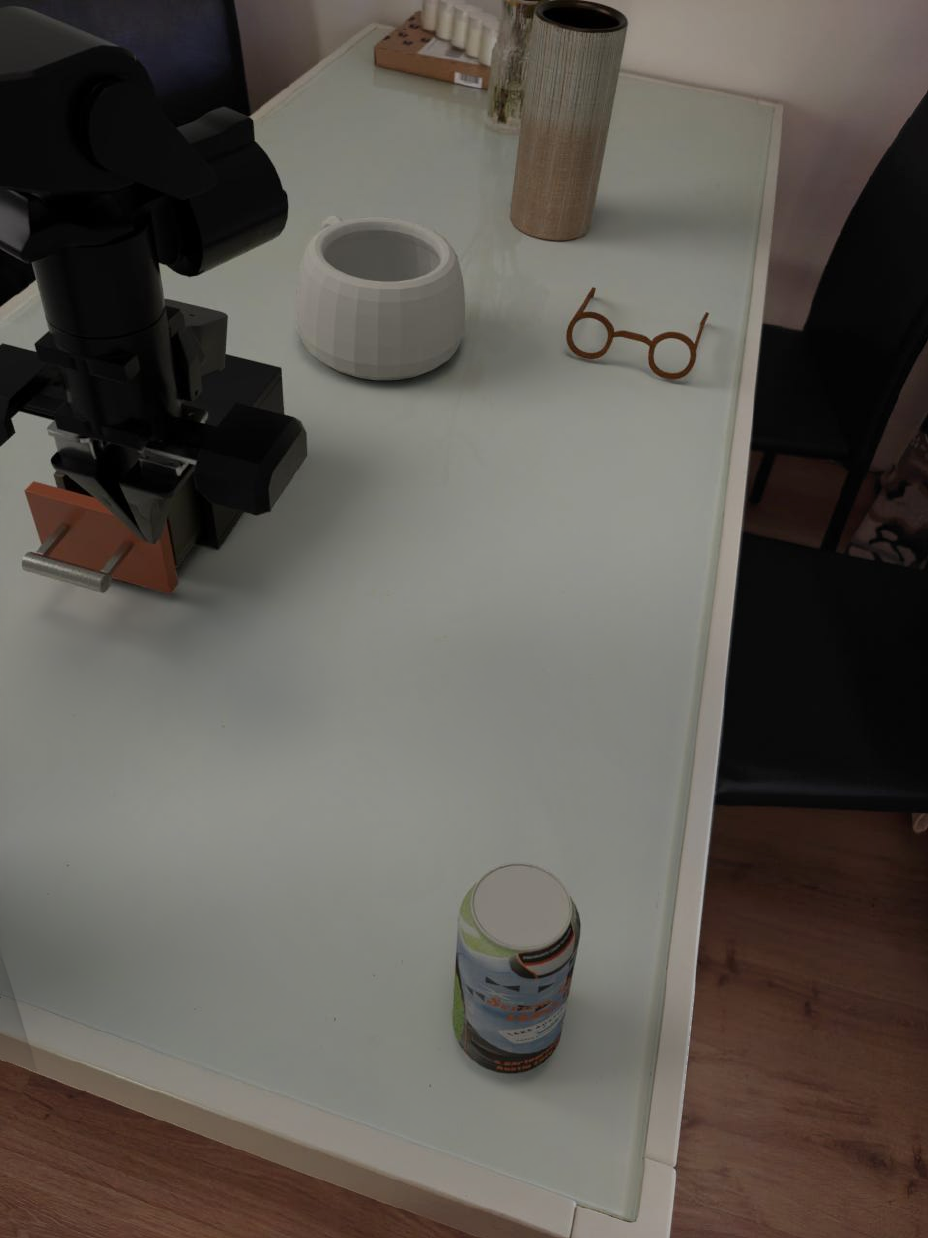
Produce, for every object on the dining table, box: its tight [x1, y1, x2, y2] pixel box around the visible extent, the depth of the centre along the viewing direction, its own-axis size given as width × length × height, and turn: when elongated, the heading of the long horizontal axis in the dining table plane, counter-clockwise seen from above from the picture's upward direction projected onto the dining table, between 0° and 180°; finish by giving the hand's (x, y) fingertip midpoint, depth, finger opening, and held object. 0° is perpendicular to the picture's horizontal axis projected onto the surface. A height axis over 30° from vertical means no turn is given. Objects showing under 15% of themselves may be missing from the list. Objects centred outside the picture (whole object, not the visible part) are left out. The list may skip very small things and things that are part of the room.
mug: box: [295, 214, 466, 381], centre depth 98 cm, size 21×17×10 cm
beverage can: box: [452, 862, 582, 1075], centre depth 51 cm, size 6×7×12 cm
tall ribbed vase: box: [509, 0, 629, 241], centre depth 113 cm, size 10×10×23 cm
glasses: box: [565, 286, 710, 381], centre depth 103 cm, size 13×13×5 cm
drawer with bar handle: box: [21, 470, 206, 595], centre depth 75 cm, size 17×10×7 cm, turn 164°
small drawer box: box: [182, 353, 285, 551], centre depth 81 cm, size 14×12×9 cm
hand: (152, 538), depth 61 cm, fingers closed
